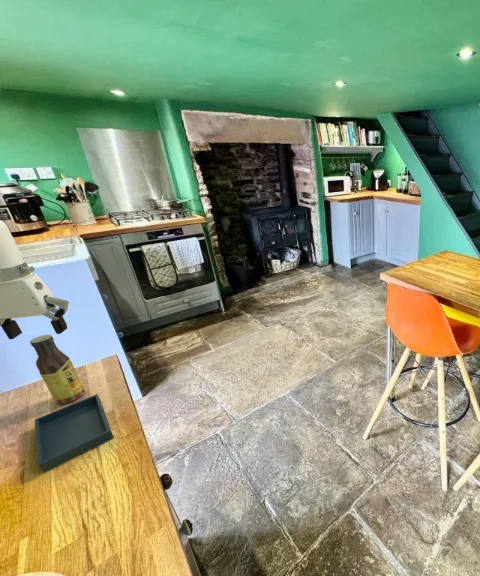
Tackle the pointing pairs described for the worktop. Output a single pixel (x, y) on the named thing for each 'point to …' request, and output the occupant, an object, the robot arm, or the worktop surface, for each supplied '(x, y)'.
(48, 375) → the sauce bottle
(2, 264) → the robot arm
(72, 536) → the worktop surface
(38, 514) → the worktop surface
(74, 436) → the tray
